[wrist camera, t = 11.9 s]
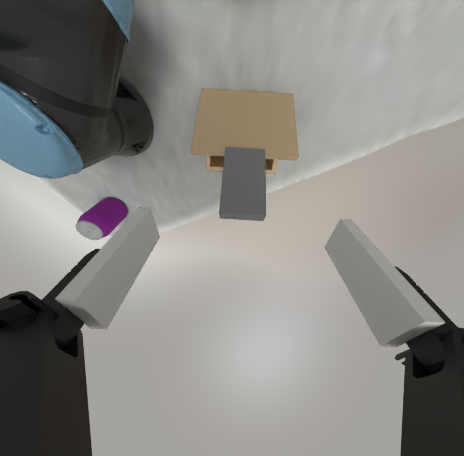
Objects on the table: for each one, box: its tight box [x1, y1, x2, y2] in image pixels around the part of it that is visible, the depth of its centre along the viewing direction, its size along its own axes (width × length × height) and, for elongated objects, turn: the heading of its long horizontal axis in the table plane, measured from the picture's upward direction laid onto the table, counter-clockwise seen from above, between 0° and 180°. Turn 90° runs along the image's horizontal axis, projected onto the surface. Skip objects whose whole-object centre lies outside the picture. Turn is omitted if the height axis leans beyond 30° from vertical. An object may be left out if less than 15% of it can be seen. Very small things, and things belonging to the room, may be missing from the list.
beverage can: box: [76, 198, 128, 240], centre depth 47 cm, size 8×8×12 cm
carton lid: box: [191, 88, 299, 221], centre depth 22 cm, size 14×21×2 cm
